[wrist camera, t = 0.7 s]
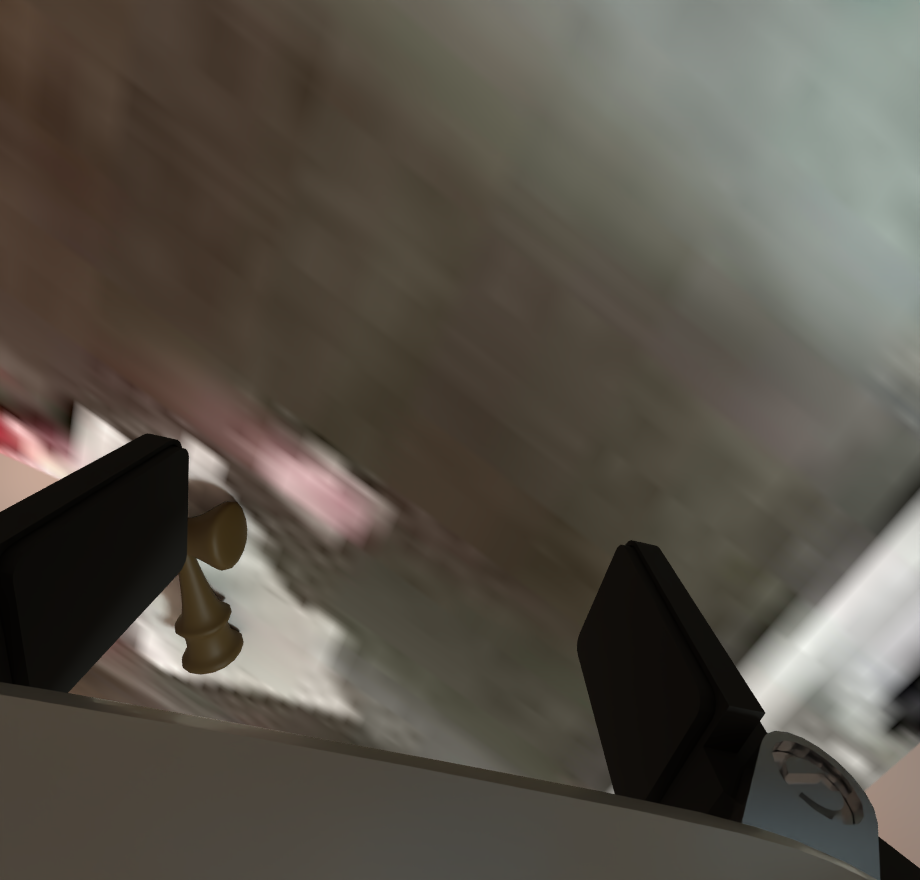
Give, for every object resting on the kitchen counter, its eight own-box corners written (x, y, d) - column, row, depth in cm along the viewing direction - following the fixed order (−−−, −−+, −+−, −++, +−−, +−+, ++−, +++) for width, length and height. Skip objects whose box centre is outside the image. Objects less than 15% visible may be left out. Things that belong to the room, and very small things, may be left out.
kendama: (181, 632, 46) (122, 452, 39) (277, 630, 46) (236, 450, 39) (144, 684, 41) (66, 487, 33) (253, 683, 41) (200, 485, 33)
